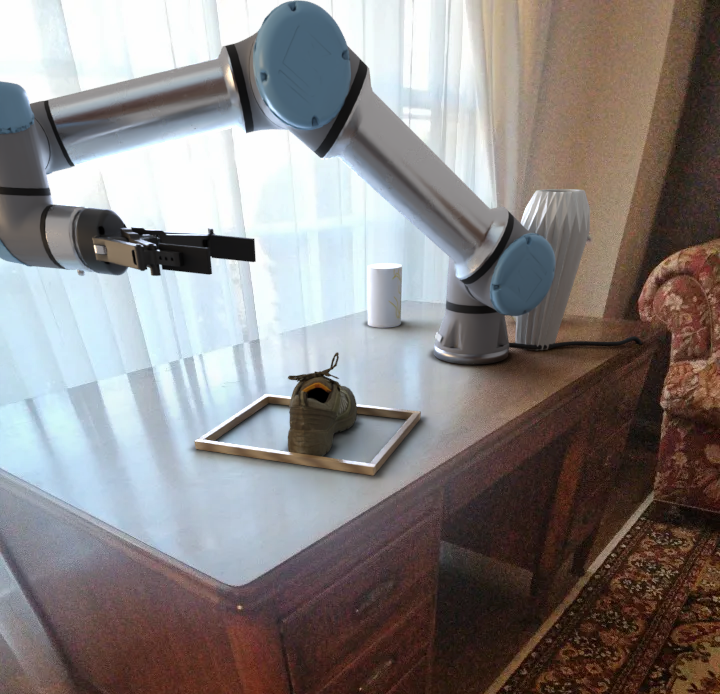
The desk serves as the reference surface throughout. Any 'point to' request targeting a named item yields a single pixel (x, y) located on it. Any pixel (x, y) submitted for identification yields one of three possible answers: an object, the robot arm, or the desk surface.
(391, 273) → the cup
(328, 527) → the desk surface
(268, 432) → the desk surface
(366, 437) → the desk surface
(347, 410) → the hiking shoe
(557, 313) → the vase
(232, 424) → the wooden frame
